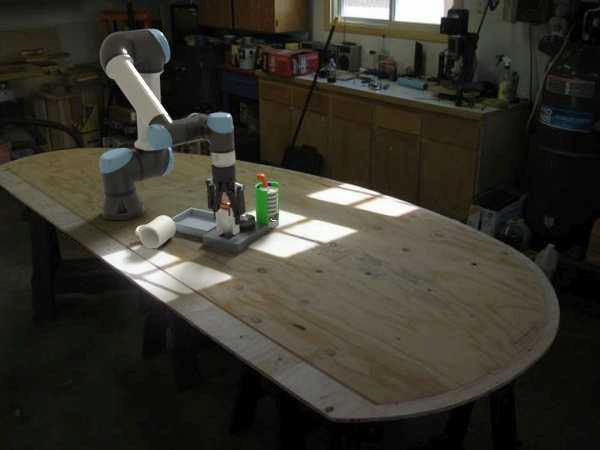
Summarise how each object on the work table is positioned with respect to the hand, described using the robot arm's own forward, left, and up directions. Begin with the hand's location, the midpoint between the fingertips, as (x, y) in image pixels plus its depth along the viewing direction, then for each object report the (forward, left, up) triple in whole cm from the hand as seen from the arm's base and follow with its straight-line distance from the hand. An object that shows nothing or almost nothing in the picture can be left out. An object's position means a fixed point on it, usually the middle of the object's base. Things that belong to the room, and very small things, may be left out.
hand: (228, 231), depth 197 cm
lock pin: (0, 0, -4) cm, 4 cm away
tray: (-17, +6, -4) cm, 19 cm away
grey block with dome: (0, +4, -4) cm, 6 cm away
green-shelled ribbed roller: (+3, +20, -5) cm, 20 cm away
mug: (-23, -10, -5) cm, 26 cm away
